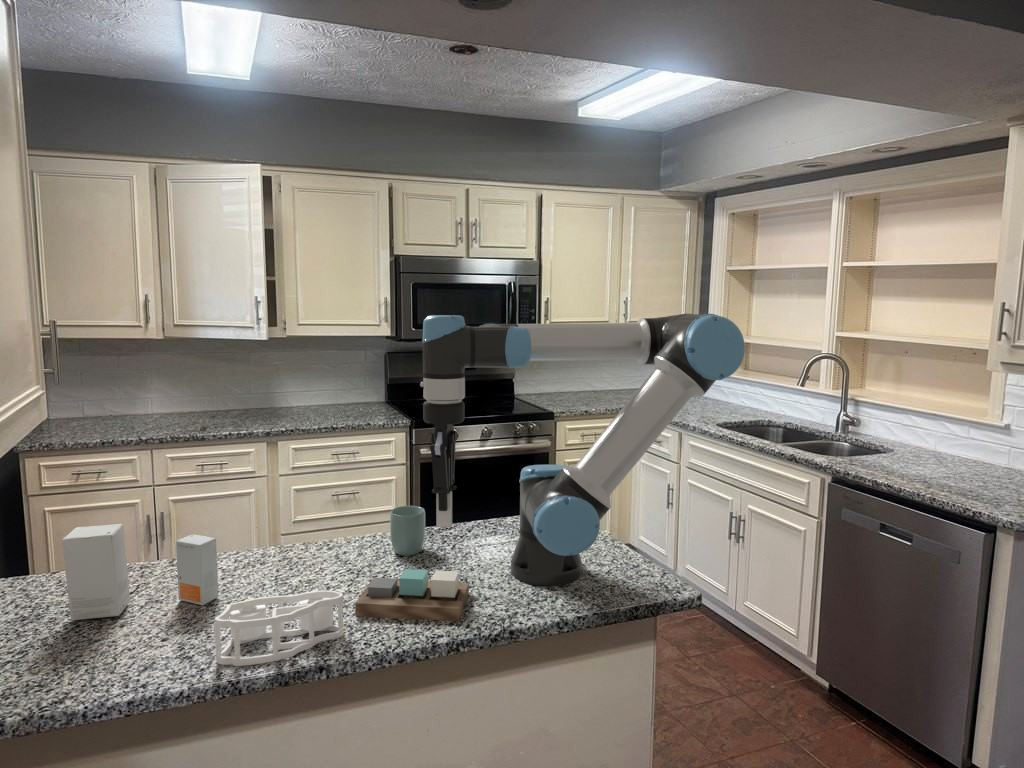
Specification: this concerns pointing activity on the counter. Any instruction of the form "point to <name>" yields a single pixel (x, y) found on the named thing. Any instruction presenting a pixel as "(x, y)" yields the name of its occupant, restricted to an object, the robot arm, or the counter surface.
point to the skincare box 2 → (197, 569)
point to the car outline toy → (278, 625)
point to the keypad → (413, 605)
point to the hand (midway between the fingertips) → (444, 525)
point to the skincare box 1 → (96, 571)
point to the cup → (407, 529)
